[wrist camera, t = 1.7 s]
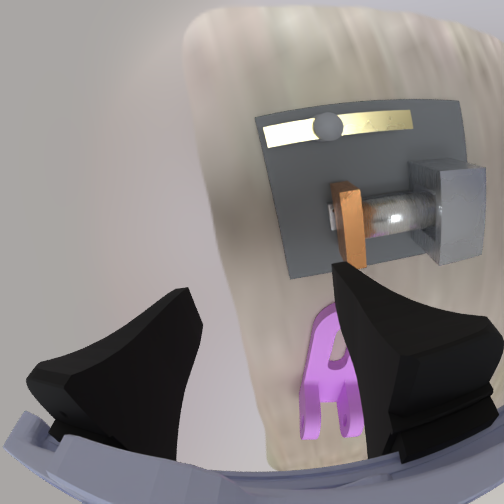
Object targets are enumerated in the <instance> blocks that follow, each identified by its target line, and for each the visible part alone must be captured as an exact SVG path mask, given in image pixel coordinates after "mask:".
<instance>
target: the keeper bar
mask: <svg viewBox="0 0 504 504" xmlns="http://www.w3.org/2000/svg"><path fill="white" fill-rule="evenodd" d="M337 116H339V117H340V118H341V120H342V122H343V125H344V130H343V133H342V135H349V134H357V133H367V132H377V131H389V130H403V129H413V123H412V118H411V112H410V110H392V111H375V112H363V113H352V114H343V115H337ZM315 119H316V118H313V119H306V120H300V121H294V122H289V123H283V124H278V125H273V126H268V127H263V128H264V132H265V137H266V141H267V145H268V148H270V147H275V146H280V145H285V144H290V143H296V142H301V141H307V140H313V139H320V137H318V136H317V134H316V133H315V131H314V121H315Z"/></svg>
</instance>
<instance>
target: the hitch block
mask: <svg viewBox="0 0 504 504" xmlns="http://www.w3.org/2000/svg"><path fill="white" fill-rule="evenodd" d="M407 167H408V177H409V189H410V190H404V191H397V192H390V193H383V194H377V195H370V196H364V197H361V201H364V200H371V199H377V198H383V197H390V196H397V195H404V194H410V193H418V192H425V191H429V192H430V193H432V195H433V196H434V198H435V200H436V225H435V226H433V227H428V228H423V229H418V230H412V231H411V239H412V240H413V241H414V242H415V243H416V244H417V245H418V246H419V247H420V248H421V249H422V250H423V251H425V252H426V253H427V254H428V255H429V256H430V257H431V258H432V259H433V260H434V261H435V262H436V263H437V264H438V265H439V266H441V265H445V264H449V263H453V262H457V261H460V260H464V259H468V258H472V257H475V256H479V255H482V248H483V239H484V228H485V212H486V168H485V167H482V166H478V165H475V164H471V163H468V162H464V161H460V160H456V159H452V158H439V159H426V160H415V161H407ZM326 205H327V212H328V218H329V225H330V229H331V230H337V229H336V221H335V214H334V207H333V202H327V203H326Z"/></svg>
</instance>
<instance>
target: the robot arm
mask: <svg viewBox="0 0 504 504" xmlns="http://www.w3.org/2000/svg"><path fill="white" fill-rule="evenodd" d="M331 266H332V276H333V286H334V296H335V307H336V311H337V316H338V320H339V325H340V328H341V331H342V334H343V337H344V340H345V343H346V346H347V349H348V351H349V354H350V357H351V360H352V363H353V366H354V370H355V373H356V377H357V382H358V388H359V393H360V399H361V405H362V411H363V418H364V425H365V434H366V443H367V454H368V459H367V460H362V461H358V462H353V463H347V464H342V465H336V466H329V467H322V468H314V469H304V470H292V471H275V472H236V471H217V470H207V469H203V468H201V467H197V466H195V465H191V464H186V463H181V462H177V461H176V454H177V439H178V428H179V420H180V413H181V408H182V401H183V397H184V392H185V388H186V385H187V382H188V378H189V376H190V372H191V370H192V367H193V364H194V361H195V357H196V355H197V351H198V348H199V345H200V341H201V335H202V329H203V323H202V321H201V319H200V316H199V313H198V311H197V308H196V306H195V304H194V301H193V299H192V296H191V293H190V291H189V288H188V287H186V288H180V289H175V290H173V291H171V292H170V293H168V294H167V295H165V296H164V297H163V298H161V299H160V300H159V301H157V302H156V303H155V304H153V305H152V306H151V307H149V308H148V309H147V310H145V311H144V312H143V313H142V314H140V315H139V316H137V317H136V318H135V319H133V320H132V321H130V322H129V323H128V324H127V325H125V326H123V327H122V328H120V329H119V330H117V331H115V332H114V333H112V334H110V335H109V336H107V337H105V338H104V339H102V340H100V341H98V342H96V343H93V344H91V345H89V346H87V347H85V348H83V349H80V350H78V351H75V352H73V353H70V354H67V355H65V356H61V357H58V358H54V359H51V360H47V361H43V362H40V363H38V364H37V365H36V367H35V368H34V369H33V370H32V372H31V373H30V374H29V376H28V377H27V379H26V383H27V386H28V388H29V390H30V392H31V393H32V395H34V397H35V398H36V399H37V400H38V402H39V403H40V404H41V405H42V406H43V407H44V408H45V409H46V410H47V411H48V412H49V414H51V416H53V418H54V419H55V421H54V423H53V425H52V426H51V428H50V427H49V426H48V425H47V424H46V423H45V422H44V421H43V420H42V419H41V418H39V417H38V416H36V415H34V414H32V413H30V412H28V411H24V413H23V414H22V416H21V418H20V419H19V421H18V422H17V424H16V425H15V427H14V429H13V430H12V432H11V434H10V435H9V437H8V439H7V440H6V442H5V444H4V446H3V448H4V449H5V450H6V451H7V452H8V453H9V454H10V455H12V456H13V457H14V458H15V459H16V460H18V461H19V462H20V463H21V464H23V465H24V466H25V467H27V468H28V469H29V470H31V471H32V472H33V473H35V474H36V475H38V476H39V477H40V478H42V479H43V480H45V481H46V482H48V483H49V484H51V485H53V486H54V487H56V488H57V489H59V490H61V491H62V492H64V493H66V494H68V495H69V496H71V497H73V498H75V499H77V500H79V501H80V502H82V504H468V503H470V502H472V501H473V500H475V499H477V498H479V497H480V496H482V495H484V494H486V493H487V492H489V491H491V490H492V489H494V488H496V487H497V486H499V485H500V484H502V483H503V482H504V405H503V406H501V407H500V408H498V409H496V407H495V405H494V402H493V400H492V399H491V397H490V396H491V395H492V394H493V388H492V386H491V384H490V382H489V381H490V379H491V377H492V376H493V374H494V372H495V370H496V368H497V366H498V364H499V361H500V359H501V356H502V354H503V350H504V340H503V337H502V335H501V334H500V333H499V331H498V330H497V329H496V328H495V326H494V325H493V324H492V323H491V321H490V320H489V319H488V318H487V317H485V316H476V315H467V314H460V313H455V312H450V311H445V310H441V309H437V308H434V307H430V306H427V305H424V304H421V303H418V302H416V301H413V300H410V299H408V298H406V297H404V296H402V295H399V294H397V293H395V292H393V291H391V290H389V289H388V288H386V287H384V286H382V285H381V284H379V283H377V282H376V281H374V280H373V279H371V278H369V277H368V276H366V275H365V274H364V273H362V272H361V271H359V270H358V269H357V268H355V267H354V266H352V265H351V264H350V263H348V262H347V261H344V262H338V263H333V264H331Z"/></svg>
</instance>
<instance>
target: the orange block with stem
mask: <svg viewBox="0 0 504 504" xmlns="http://www.w3.org/2000/svg"><path fill="white" fill-rule="evenodd" d="M330 187H331V194H332V200H333V207H334V214H335V221H336V229H337V237H338V246H339V253H340V255H341V257H342V259H343V261H347V262H348V263H350V264H351V265H352V266H354V267H355V268H357V269H360V268H365V267H367V265H366V246H365V239H369V238H374V237H380V236H385V235H391V234H396V233H402V232H407V231H412V230H418V229H423V228H428V227H433V226H435V225H436V200H435V198H434V196H433V195H432V193H430V192H429V191H425V192H418V193H410V194H404V195H397V196H390V197H383V198H377V199H371V200H364V201H361V193H360V189H359V188H357V187H356V186H354V185H353V184H352V183H350V182H349V181H343V182H337V183H331V184H330Z"/></svg>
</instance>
